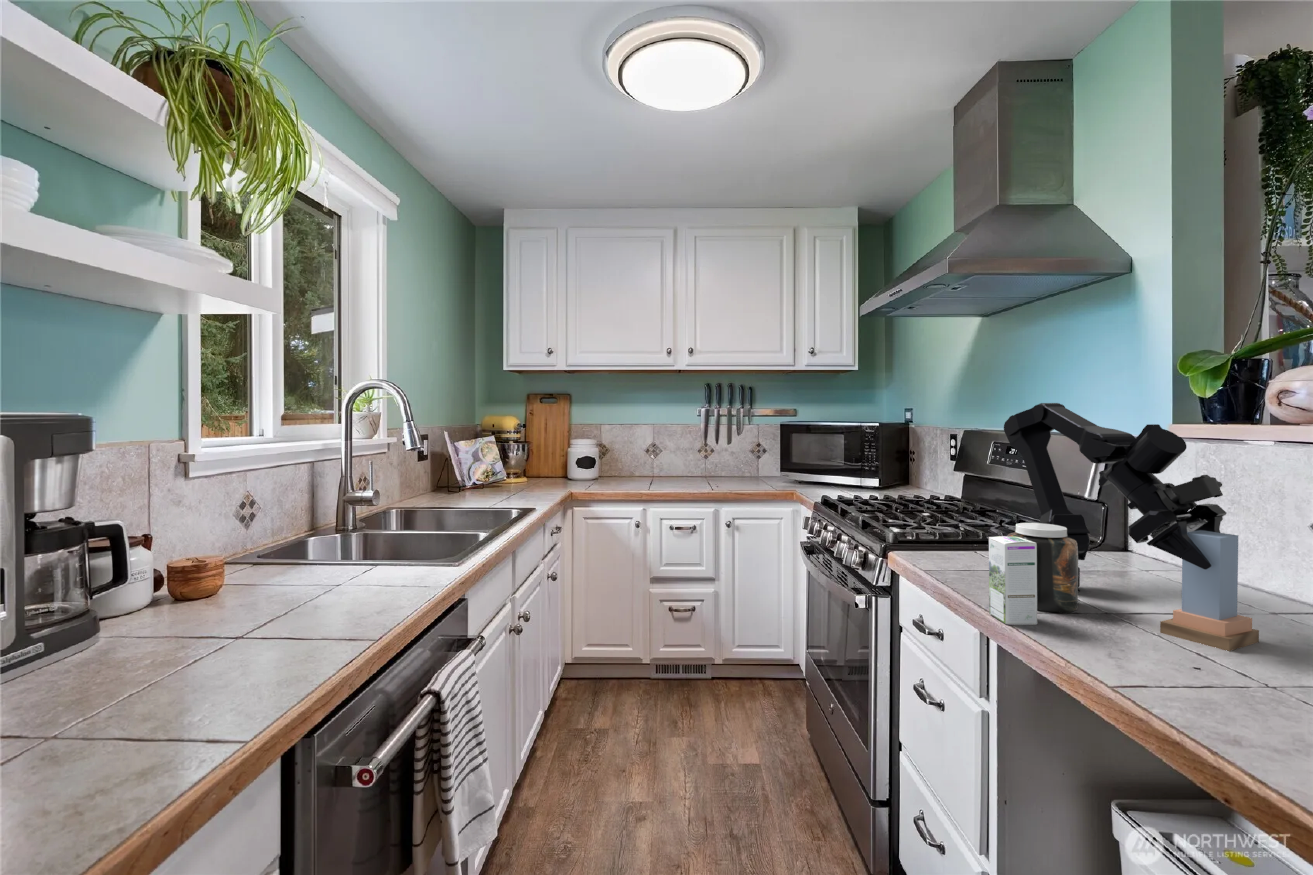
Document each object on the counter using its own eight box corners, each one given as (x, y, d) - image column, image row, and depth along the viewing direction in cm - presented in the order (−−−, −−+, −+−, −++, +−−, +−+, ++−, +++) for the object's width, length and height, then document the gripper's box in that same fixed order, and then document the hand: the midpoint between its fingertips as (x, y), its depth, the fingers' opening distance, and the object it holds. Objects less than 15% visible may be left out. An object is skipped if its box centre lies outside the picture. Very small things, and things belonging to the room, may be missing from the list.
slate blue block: (1219, 620, 95) (1220, 538, 94) (1181, 611, 100) (1182, 532, 99) (1237, 615, 97) (1238, 535, 96) (1199, 607, 101) (1200, 530, 101)
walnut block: (1228, 655, 92) (1229, 639, 92) (1160, 636, 101) (1160, 621, 101) (1258, 645, 96) (1258, 630, 96) (1189, 628, 104) (1190, 613, 104)
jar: (1011, 609, 114) (1012, 529, 113) (1000, 592, 125) (1000, 520, 124) (1086, 615, 110) (1086, 533, 109) (1067, 597, 121) (1067, 522, 120)
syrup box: (1038, 625, 105) (1039, 541, 104) (1004, 625, 105) (1004, 542, 105) (1019, 614, 111) (1020, 535, 110) (987, 614, 111) (987, 535, 110)
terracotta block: (1224, 636, 93) (1225, 623, 93) (1172, 622, 100) (1173, 610, 100) (1251, 630, 96) (1252, 618, 96) (1199, 617, 102) (1199, 605, 102)
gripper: (1150, 461, 97) (1237, 541, 87) (1212, 457, 105) (1298, 530, 95) (1097, 503, 105) (1171, 582, 95) (1158, 497, 112) (1233, 569, 102)
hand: (1221, 565), depth 97 cm, fingers open, 7 cm apart
